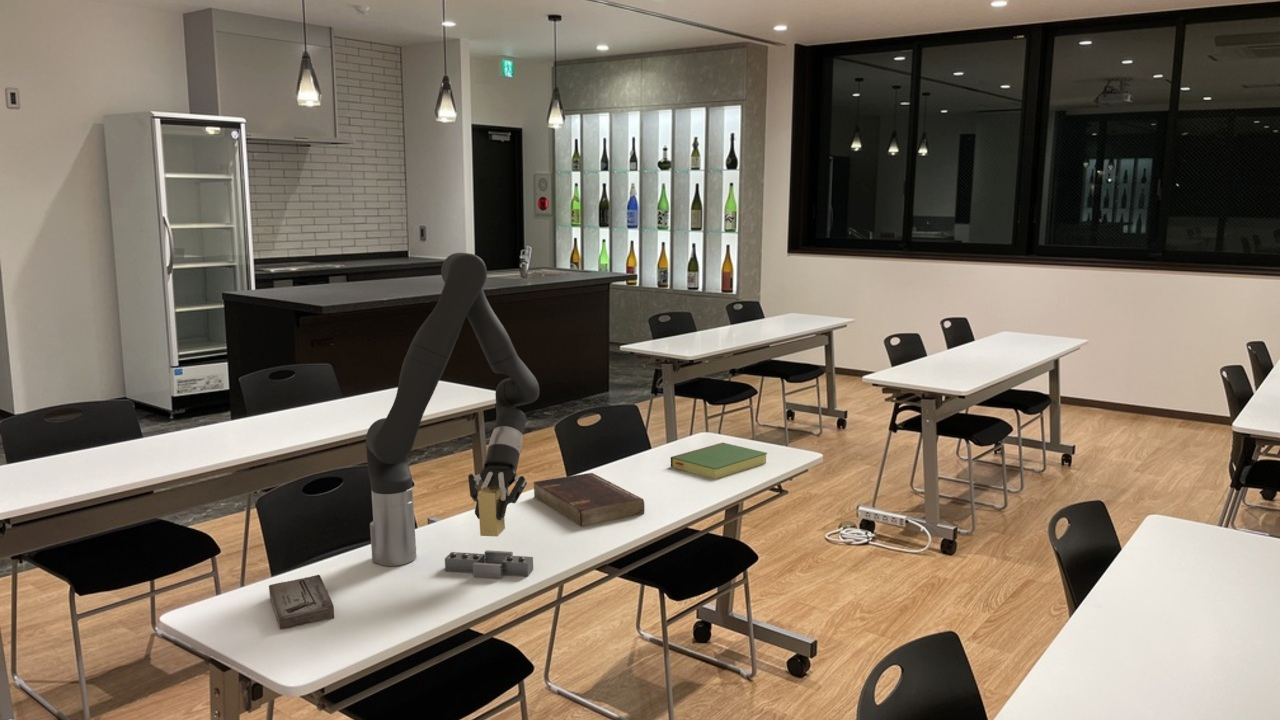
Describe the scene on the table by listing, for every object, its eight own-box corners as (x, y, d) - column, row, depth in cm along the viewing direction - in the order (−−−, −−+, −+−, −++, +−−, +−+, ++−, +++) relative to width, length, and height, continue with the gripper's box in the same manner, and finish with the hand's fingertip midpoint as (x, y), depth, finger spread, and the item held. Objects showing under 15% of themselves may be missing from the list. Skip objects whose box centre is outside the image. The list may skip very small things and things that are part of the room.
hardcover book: (722, 453, 309) (722, 442, 308) (767, 464, 295) (767, 452, 295) (669, 469, 292) (668, 457, 291) (713, 481, 278) (713, 469, 278)
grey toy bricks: (441, 574, 210) (440, 560, 209) (455, 560, 218) (455, 546, 217) (524, 580, 206) (524, 565, 206) (536, 565, 214) (535, 551, 214)
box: (321, 586, 204) (319, 573, 203) (335, 619, 189) (334, 604, 188) (268, 598, 199) (267, 584, 198) (279, 632, 184) (277, 617, 183)
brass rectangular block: (480, 535, 208) (477, 492, 207) (488, 527, 213) (485, 485, 212) (497, 536, 208) (495, 493, 206) (504, 528, 213) (502, 486, 211)
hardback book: (644, 515, 249) (644, 497, 248) (581, 529, 240) (581, 510, 239) (593, 487, 274) (592, 471, 273) (534, 499, 264) (533, 481, 263)
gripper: (470, 441, 216) (453, 509, 206) (529, 443, 213) (515, 512, 203) (479, 457, 222) (463, 524, 212) (537, 459, 219) (523, 526, 210)
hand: (488, 517), depth 208 cm, fingers closed on brass rectangular block, 4 cm apart
